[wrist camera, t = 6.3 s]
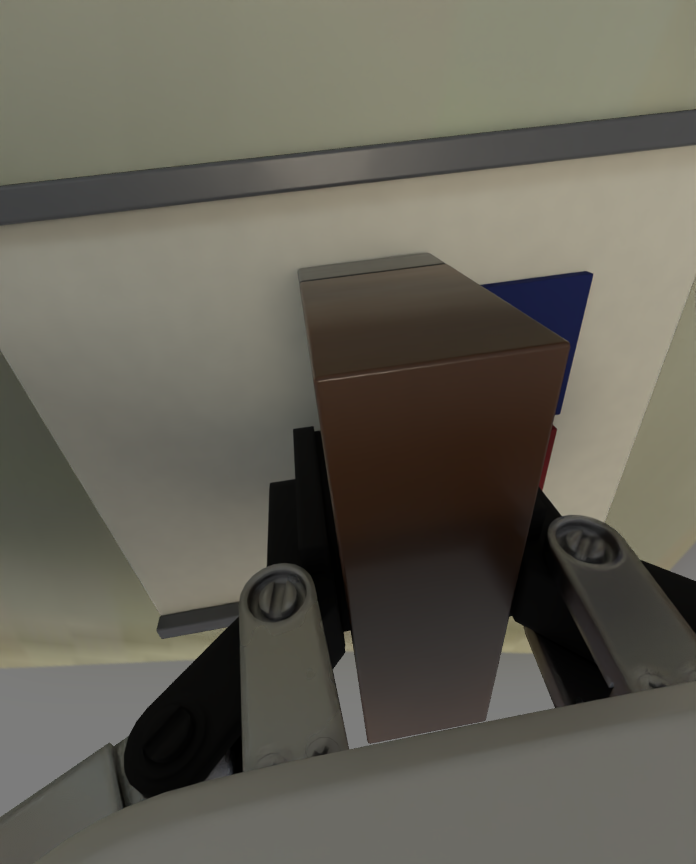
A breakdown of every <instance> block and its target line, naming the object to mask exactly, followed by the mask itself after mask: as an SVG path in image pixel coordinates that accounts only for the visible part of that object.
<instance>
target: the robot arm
mask: <svg viewBox="0 0 696 864" xmlns="http://www.w3.org/2000/svg"><path fill="white" fill-rule="evenodd" d="M293 443H294V464H295V479H291V480H285V481H278V482H272V483H270V486H269V512H268V542H267V567H266V568H263V569H261V570H260V571H259V572H257V573H256V574H254V575H253V576H252V577H251V578H250V579H249V580H248V582H247V583H246V584H245V586H244V588H243V590H242V592H241V594H240V600H239V617H238V618H237V619H236V620H235V621H234V622H233V623H232V624H231V625H230V626H229V627H228V628H227V629H226V630H225V631H224V632H223V633H222V634H221V635H220V636H219V637H218V638H217V639H216V640H215V641H214V642H213V643H212V644H211V645H210V646H209V647H208V648H207V649H206V650H205V651H204V652H203V653H202V654H201V655H200V656H199V657H198V658H197V659H196V660H195V661H194V662H193V663H192V664H191V665H190V666H189V667H188V668H187V669H186V670H185V671H184V672H183V673H182V674H181V675H180V676H179V677H178V678H177V679H176V680H175V681H174V682H173V683H172V684H171V685H170V686H169V687H168V688H167V689H166V690H165V691H164V692H163V693H162V694H161V695H160V696H159V697H158V698H157V699H156V700H155V701H154V702H153V703H152V704H151V705H150V706H149V707H148V708H147V709H146V710H145V712H144V713H143V714H142V715H141V717H140V718H139V719H138V721H137V722H136V724H135V726H134V727H133V729H132V731H131V733H130V735H129V736H128V737H127V738H125V739H124V740H122V741H121V742H120V743H118V744H116V745H115V746H113V745H112V744H111V743H108V744H106V745H105V746H104V747H102V748H101V749H99V750H98V751H96V752H95V753H93V754H92V755H90V756H89V757H88V758H86V759H85V760H83V761H82V762H80V763H79V764H77V765H76V766H74V767H73V768H71V769H70V770H68V771H67V772H66V773H64V774H63V775H61V776H60V777H58V778H57V779H55V780H54V781H52V782H51V783H49V784H48V785H47V786H45V787H44V788H42V789H41V790H39V791H38V792H36V793H35V794H33V795H32V796H30V797H29V798H28V799H26V800H25V801H23V802H22V803H20V804H19V805H17V806H16V807H14V808H13V809H11V810H10V811H9V812H7V813H6V814H4V815H3V816H1V817H0V864H696V581H694V580H691V579H689V578H686V577H683V576H681V575H678V574H676V573H673V572H670V571H668V570H665V569H663V568H660V567H657V566H655V565H652V564H650V563H647V562H644V561H642V560H640V559H639V558H638V557H637V555H636V554H635V553H634V551H633V550H632V549H631V547H630V546H629V545H628V543H627V542H626V541H625V540H624V538H623V537H622V536H621V535H620V534H619V533H618V532H617V531H616V530H615V529H613V528H612V527H610V526H609V525H607V524H606V523H604V522H602V521H599V520H597V519H595V518H592V517H587V516H583V515H566V516H561V514H560V513H559V512H558V510H557V509H556V508H555V507H554V505H553V504H552V503H551V501H550V500H549V499H548V498H547V496H546V495H545V494H544V492H543V491H542V490H541V489H540V487H538V492H537V496H536V501H535V505H534V509H533V514H532V518H531V523H530V527H529V532H528V536H527V540H526V545H525V549H524V554H523V558H522V562H521V567H520V571H519V576H518V580H517V584H516V589H515V593H514V598H513V602H512V606H511V611H510V615H509V617H510V616H513V618H514V620H515V621H516V622H518V623H520V624H521V625H523V626H524V630H525V634H526V637H527V639H528V642H529V644H530V647H531V649H532V652H533V654H534V657H535V659H536V661H537V664H538V667H539V669H540V672H541V674H542V677H543V679H544V682H545V684H546V687H547V689H548V691H549V694H550V696H551V699H552V701H553V704H554V706H555V708H554V709H549V710H544V711H539V712H533V713H528V714H524V715H518V716H514V717H508V718H504V719H498V720H494V721H488V722H483V723H478V724H473V725H468V726H463V727H458V728H453V729H448V730H443V731H438V732H433V733H428V734H423V735H418V736H413V737H408V738H404V739H399V740H394V741H389V742H384V743H379V744H374V745H369V746H364V747H360V748H354V749H349V746H348V742H347V737H346V732H345V727H344V722H343V717H342V713H341V708H340V703H339V698H338V694H337V688H336V683H335V679H334V674H333V668H334V667H335V666H336V664H337V663H338V661H339V660H340V659H341V657H342V656H343V655H344V653H345V640H344V632H345V631H350V630H351V629H350V622H349V616H348V609H347V602H346V596H345V589H344V582H343V576H342V569H341V563H340V556H339V549H338V543H337V536H336V529H335V523H334V516H333V510H332V503H331V496H330V490H329V483H328V476H327V470H326V463H325V457H324V450H323V443H322V437H321V430H320V431H314V426H310V427H303V428H296V429H293Z"/></svg>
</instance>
